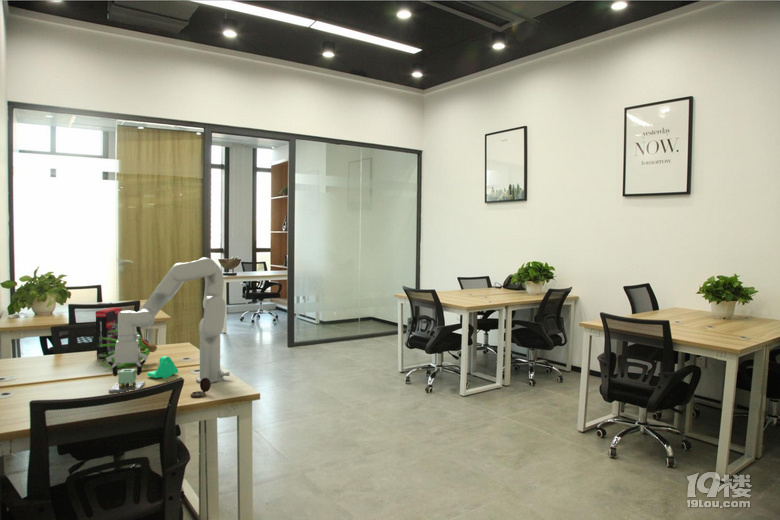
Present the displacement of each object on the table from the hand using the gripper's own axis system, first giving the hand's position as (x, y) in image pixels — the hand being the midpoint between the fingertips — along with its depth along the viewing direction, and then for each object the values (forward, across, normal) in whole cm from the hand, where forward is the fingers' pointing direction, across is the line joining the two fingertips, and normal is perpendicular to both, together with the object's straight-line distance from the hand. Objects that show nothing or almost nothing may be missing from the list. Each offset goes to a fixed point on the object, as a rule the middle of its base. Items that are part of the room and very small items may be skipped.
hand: (127, 375), depth 231 cm
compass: (+6, -34, +18) cm, 39 cm away
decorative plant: (+6, +11, -44) cm, 46 cm away
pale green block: (+3, 0, 0) cm, 3 cm away
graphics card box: (+6, +27, -71) cm, 76 cm away
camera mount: (+6, -11, -20) cm, 24 cm away
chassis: (+6, 0, 0) cm, 6 cm away
